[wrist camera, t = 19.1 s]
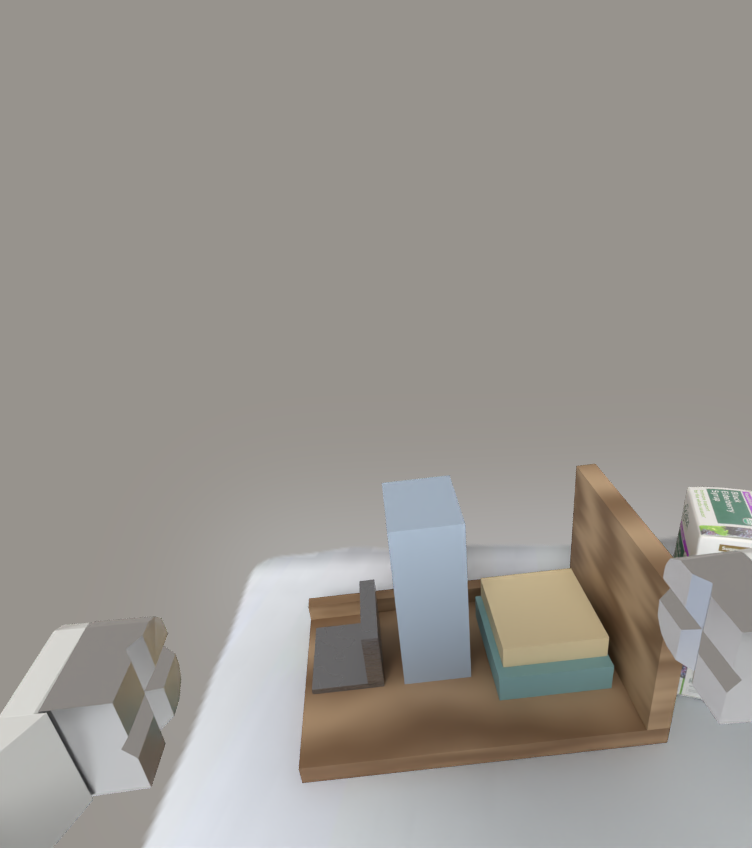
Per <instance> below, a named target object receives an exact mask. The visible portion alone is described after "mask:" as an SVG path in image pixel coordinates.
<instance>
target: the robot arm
mask: <svg viewBox="0 0 752 848" xmlns="http://www.w3.org/2000/svg"><path fill="white" fill-rule="evenodd" d="M663 579H664V580H665V581H666V583H667V584H668V585H669V587H670V589H669V590H668V591H667V592H666V593H665V594H664V595H663V596H662V597H661V598H660V600H659V608H658V620H659V625H660V630H661V634H662V636H663V638H664V641H665V643H666V645H667V647H668V649H669V650H670V652H671V653H672V655H673V657H674V658H675V660H677V661H678V662H680V663H681V664H683V665H685V666H686V667H688V668H690V669H691V670H693V671H694V674H693V682H692V685H693V687H694V688H695V690H696V691H697V693H698V694H699V696H700V697H701V699H702V700H703V702H704V703H705V704H706V706H707V707H708V709H709V710H710V712H711V713H712V715H713V716H714V718H715V719H716V721H717V722H718V724H731V723H743V722H752V548H748V549H740V550H734V551H727V552H719V553H710V554H702V555H694V556H685V557H677V558H670V559H669V561H668V562H667V564H666V565H665V570H664V575H663ZM167 635H168V632H167V630H166V628H165V625H164V623H163V621H162V618H159V617H155V616H153V617H140V618H129V619H118V620H107V621H95V622H93V623H80V624H68V625H62V626H61V627H59V628H58V629H56V630H55V631H54V632H53V633H52V635H51V636H50V638H49V639H48V641H47V643H46V644H45V646H44V647H43V649H42V650H41V652H40V653H39V655H38V657H37V658H36V660H35V661H34V663H33V664H32V666H31V667H30V669H29V671H28V672H27V674H26V675H25V677H24V678H23V680H22V682H21V683H20V685H19V686H18V688H17V689H16V691H15V693H14V694H13V696H12V697H11V699H10V700H9V702H8V703H7V705H6V707H5V708H4V710H3V711H2V713H1V714H0V848H53V847H54V846H55V845H56V844H57V843H58V841H59V840H60V839H61V837H63V835H64V834H65V833H66V832H67V830H68V829H69V828H70V827H71V826H72V824H73V823H74V822H75V821H76V820H77V819H78V817H79V816H80V815H81V814H82V813H83V811H84V810H85V809H86V808H87V807H88V805H89V804H90V803H91V802H92V801H93V797H92V796H97V795H104V794H111V793H117V792H125V791H132V790H139V789H146V788H151V787H152V784H153V781H154V778H155V775H156V772H157V768H158V765H159V762H160V759H161V756H162V753H163V750H164V747H165V741H164V739H163V736H162V734H161V731H160V730H161V729H162V728H163V727H164V726H165V725H166V724H167V723H168V722H169V721H170V720H171V719H172V718H173V717H174V715H175V712H176V708H177V705H178V702H179V696H180V686H181V685H180V684H181V675H180V668H179V663H178V660H177V657H176V654H175V653H173V652H172V651H171V650H169V649H168V648H166V647H165V646H163V645H164V643H165V640H166V637H167Z"/></svg>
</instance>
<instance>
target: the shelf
mask: <svg viewBox="0 0 752 848" xmlns="http://www.w3.org/2000/svg"><path fill="white" fill-rule="evenodd" d="M670 558H673V557H672V555H671V554H670V553H669V552H668V551H667V549H666V548H665V547H664V546H663V545H662V543H661V542H660V541H659V540H658V539H657V537H656V536H655V535H654V534H653V533H652V531H651V530H650V529H649V528H648V527H647V525H646V524H645V523H644V522H643V521H642V519H641V518H640V517H639V516H638V515H637V513H636V512H635V511H634V510H633V509H632V507H631V506H630V505H629V504H628V503H627V501H626V500H625V499H624V498H623V496H622V495H621V494H620V493H619V492H618V490H617V489H616V488H615V487H614V486H613V484H612V483H611V482H610V481H609V480H608V478H607V477H606V476H605V475H604V474H603V472H602V471H601V470H600V469H599V468H598V466H597V465H596V464H590V465H581V466H577V468H576V482H575V498H574V513H573V529H572V544H571V559H570V568H571V569H572V571H573V573H574V575H575V576H576V578H577V580H578V582H579V584H580V585H581V587H582V589H583V591H584V593H585V594H586V596H587V598H588V600H589V602H590V603H591V605H592V607H593V609H594V611H595V612H596V614H597V616H598V618H599V620H600V621H601V623H602V625H603V627H604V629H605V631H606V632H607V634H608V636H609V645H608V653H607V654H608V655H609V657H610V659H611V661H612V663H613V665H614V672H613V680H612V688H608V689H599V690H590V691H581V692H572V693H563V694H554V695H545V696H536V697H527V698H518V699H509V700H499V697H498V693H497V689H496V686H495V682H494V679H493V675H492V672H491V668H490V665H489V661H488V658H487V654H486V651H485V647H484V644H483V640H482V636H481V633H480V629H479V626H478V622H477V619H476V606H475V597H476V596H481V579H479V580H470V581H468V607H469V633H470V658H471V677H466V678H457V679H448V680H439V681H430V682H421V683H412V684H405V682H404V673H403V665H402V656H401V647H400V639H399V630H398V622H397V613H396V604H395V596H394V589H390V590H381V591H376V597H377V604H378V611H379V619H380V627H381V642H382V656H383V671H384V685H385V686H384V687H375V688H366V689H357V690H348V691H339V692H330V693H321V694H313V693H312V681H313V667H314V653H315V638H316V628H321V627H330V626H339V625H348V624H357V623H361V620H360V593H355V594H346V595H337V596H328V597H319V598H310V599H309V612H310V617H311V628H310V640H309V652H308V664H307V677H306V689H305V701H304V713H303V725H302V737H301V749H300V761H299V771H300V775H301V779H302V783H306V782H315V781H324V780H333V779H342V778H351V777H360V776H369V775H378V774H387V773H396V772H405V771H414V770H423V769H432V768H441V767H450V766H459V765H468V764H477V763H486V762H495V761H504V760H513V759H522V758H531V757H540V756H549V755H558V754H567V753H576V752H585V751H594V750H603V749H612V748H621V747H630V746H639V745H648V744H657V743H666V742H667V740H668V735H669V730H670V725H671V720H672V715H673V710H674V705H675V700H676V695H677V690H678V685H679V680H680V675H681V670H682V665H683V664H681V663H680V662H678V661H677V660H675V658H674V657H673V655H672V653H671V652H670V650H669V649H668V647H667V645H666V643H665V641H664V638H663V636H662V634H661V630H660V625H659V620H658V608H659V600H660V598H661V597H662V596H663V595H664V594H665V593H666V592H667V591H668V590H669V589H670V587H669V585H668V584H667V583H666V581H665V580H664V579H663V575H664V570H665V565H666V564H667V562H668V561H669V559H670Z"/></svg>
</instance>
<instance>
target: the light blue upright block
mask: <svg viewBox="0 0 752 848" xmlns="http://www.w3.org/2000/svg"><path fill="white" fill-rule="evenodd" d="M382 488H383V497H384V506H385V516H386V526H387V534H388V543H389V552H390V561H391V570H392V578H393V587H394V596H395V604H396V613H397V622H398V630H399V639H400V647H401V656H402V665H403V673H404V682H405V684H412V683H421V682H430V681H439V680H448V679H457V678H466V677H471V658H470V633H469V607H468V581H467V556H466V531H465V522H464V518H463V515H462V512H461V509H460V506H459V503H458V500H457V497H456V494H455V491H454V488H453V485H452V482H451V479H450V476H441V477H431V478H422V479H414V480H405V481H396V482H387V483H382Z"/></svg>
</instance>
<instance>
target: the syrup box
mask: <svg viewBox="0 0 752 848" xmlns="http://www.w3.org/2000/svg"><path fill="white" fill-rule="evenodd" d="M748 548H752V491H749V490H741V489H731V488H720V487H689V488H687V492H686V497H685V502H684V508H683V514H682V519H681V523H680V529H679V533H678V538H677V543H676V548H675V553H674V558H677V557H685V556H694V555H702V554H710V553H719V552H727V551H734V550H740V549H748ZM693 674H694V671H693V670H691V669H690V668H688V667H686V666H685V665H682V670H681V675H680V680H679V685H678V690H677V695H682V696H687V697H692V698H697V699H701V697H700V696H699V694H698V693H697V691H696V690H695V688H694V687H693V685H692V682H693Z"/></svg>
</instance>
